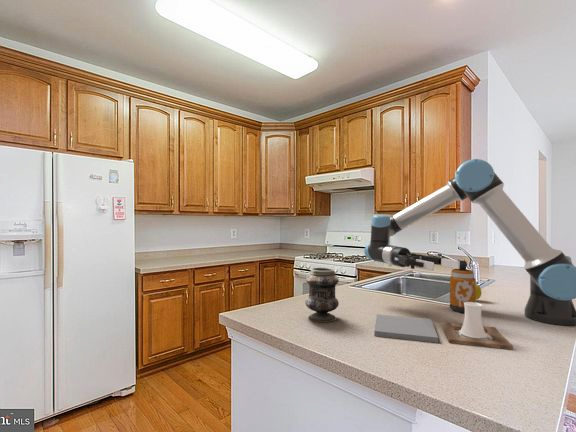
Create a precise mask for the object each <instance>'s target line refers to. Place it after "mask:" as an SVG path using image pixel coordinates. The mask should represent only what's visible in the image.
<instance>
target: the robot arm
mask: <svg viewBox="0 0 576 432" xmlns="http://www.w3.org/2000/svg"><path fill="white" fill-rule="evenodd" d="M504 185H505V184H504V182H503V181H502V179H501V178H500V177H499V176H498V175H497V173H495V171H494V169H493V166H492V165H491V164H490V163H489V162H488V161H486V160H483V159H481V158H480V159H478V158H474V159H473V158H471V159H468V160H466V161H464V162H462V163H461V164H460V165H459V167H457V170H456V171H455V174H454V177H453V178H451V179H449V180H448V181H447V183H446V185H444V186H442V187H441V188H439V189H437V190H435V191H434V192H431V193H430V194H428V195H427V196H425V197H423V198H421V199H420V200H418V201H416V202H415V203H413V204H411V205H409V206H407V207H406V208H404V209H402V210H400V211H399V212H397V213H395V214H394V215H391V216H390V215H381V214H380V215H379V214H376V215H375V214H374V215H372V217H371V223H370V225H371V227H370V230H371V231H370V241H369V242H368V243H366V244H365V247H364V249H363V250H364V251H363V252H364V256H365V257H366V258H367V259H369V260H372V261H374V262H379V263H383V264H384V263H385V264H389V266H390V267H391V266H396V267H401V268H405V267H408V268H409V267H410V269H411V270H415V269H417V268H418V269H422V270H426V271H430V272H434V271H435V270H434V267H435V265H438V266H442V267H446V268H451V269H459V266H460V261H461V260H459V261H458V260H457V259H456V260H454V259H449V258H445V256H443V255H442V256H441V257H439V256H432V255H424V254H419V253H412V252H411V251H410V250H409V248H407V247H403V246H402V247H401V246H398V245H392V244H390V237H393V236H395V235H396V234H397V233H399V232H401V231H403V230H404V229H406V228H408V227H410V226H412V225H414V224H416V223H417V222H419V221H421V220H423V219H425V218H426V217H429V216H430V215H432V214H434V213H436V212H438V211H440V210H441V209H444V208H445V207H447V206H449V205H451V204H453V203H455V202H456V201H457V202H458V201H460V202H462V201H464V200H465V199H467V198H468V199H469V201H470V202H471V203H472V204H477V205H480V207H481V208H482V210H483V212H485V213H486V214H487V216H488V217H489V218H490V220H491V221H492V222H493V223H494V224H495V225H496V227H497V228H498V230H499V231H500V233H502V234H503V236H504V237H505V239H506V240H507V241H508V242H509V243H510V244H511V246H512V247H513V248H514V250H515V251H516V252H517V253H518V254H519V256H520V257H521V258H522V259H523V260H524V266H523V268H524V270H525V271H526V272H527V273H528V275H529V278H530V279H529V288H530V289H529V291H530V292H529V297H528V300H527V303H526V305H525V307H524V316H525V317H526V318H527V319H531V320H533V321H537V322H541V323H545V324H550V325H551V324H552V325H556V326H557V325H559V326H576V307H575V304H574V302H573V300H575V299H576V266H575V265H574V264H573V261H572V258H571V257H570V256H567V255H565V253H564V252H563V251H562V250H560V249H556V248H553V247H552V246H551V245H550V244H549V243H548V242H547V241H546V239H545V238H544V237H543V236H542V234H540V232H539V231H538V230H537V229H536V227H535V226H534V225H533V224H532V222H530V220H529V219H528V217H526V216H525V214H524V213H523V212H522V211H521V210H520V209H519V208H518V206H517V205H516V204H515V203H514V201H513V200H512V199H511V198H510V197H509V196H508V194H507V193H506V192H505V191H504Z"/></svg>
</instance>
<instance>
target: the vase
mask: <svg viewBox="0 0 576 432" xmlns="http://www.w3.org/2000/svg"><path fill="white" fill-rule="evenodd" d="M464 307H465V313H464V318H463V319H464V320H463V323H462V324H463V326H462V328H461V330H458V332H459V337H465V338H474V339H484V340H488V333H487V332H485V331H484V328H483V326H484V325H483V320H482V308H483V304H481V303H479V302H476V303H475V302H464Z"/></svg>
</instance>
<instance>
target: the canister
mask: <svg viewBox="0 0 576 432" xmlns="http://www.w3.org/2000/svg"><path fill="white" fill-rule="evenodd" d="M457 261H460V266H459V269H455V268H452V269H451V272H450V273H451V274H450V275H451V276H449V308H450V309H451V310H453V311H455V312H458V313H464V314H465V307H464V302H475V303H477V300H476V284H477V283H476V280H477V279H476V278H475V272H474V271H473V270H471V269H469V268H467V267H468V262H467V261H466V260H465V259H464V260H460V259H457Z"/></svg>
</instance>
